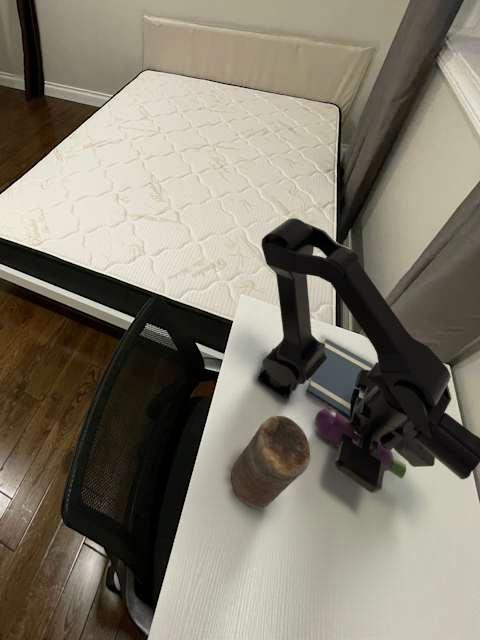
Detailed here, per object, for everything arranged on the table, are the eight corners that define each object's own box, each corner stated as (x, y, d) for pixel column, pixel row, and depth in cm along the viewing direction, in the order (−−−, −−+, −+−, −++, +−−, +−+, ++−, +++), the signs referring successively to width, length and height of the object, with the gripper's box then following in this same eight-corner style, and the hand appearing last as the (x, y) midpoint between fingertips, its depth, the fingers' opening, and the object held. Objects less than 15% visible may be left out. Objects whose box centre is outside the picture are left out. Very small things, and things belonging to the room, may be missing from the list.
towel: (306, 391, 75) (307, 389, 75) (325, 339, 84) (326, 338, 84) (358, 423, 71) (360, 422, 71) (372, 365, 80) (373, 364, 79)
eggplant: (308, 432, 69) (317, 422, 66) (315, 409, 73) (324, 398, 69) (394, 489, 63) (408, 482, 60) (398, 461, 66) (411, 452, 63)
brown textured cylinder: (276, 467, 65) (312, 425, 53) (274, 518, 60) (312, 485, 47) (233, 450, 67) (258, 406, 54) (227, 498, 62) (252, 461, 49)
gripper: (443, 508, 48) (389, 531, 58) (450, 389, 60) (405, 424, 70) (353, 449, 53) (318, 479, 63) (376, 350, 65) (344, 388, 75)
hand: (349, 441), depth 67 cm, fingers closed on eggplant, 5 cm apart
